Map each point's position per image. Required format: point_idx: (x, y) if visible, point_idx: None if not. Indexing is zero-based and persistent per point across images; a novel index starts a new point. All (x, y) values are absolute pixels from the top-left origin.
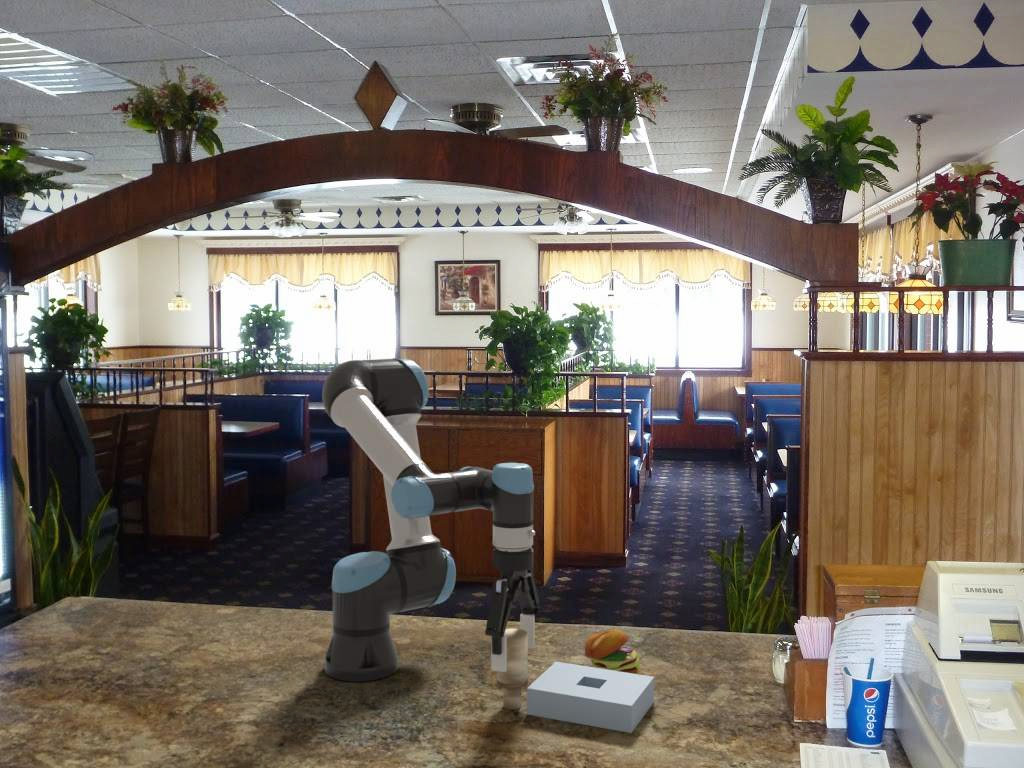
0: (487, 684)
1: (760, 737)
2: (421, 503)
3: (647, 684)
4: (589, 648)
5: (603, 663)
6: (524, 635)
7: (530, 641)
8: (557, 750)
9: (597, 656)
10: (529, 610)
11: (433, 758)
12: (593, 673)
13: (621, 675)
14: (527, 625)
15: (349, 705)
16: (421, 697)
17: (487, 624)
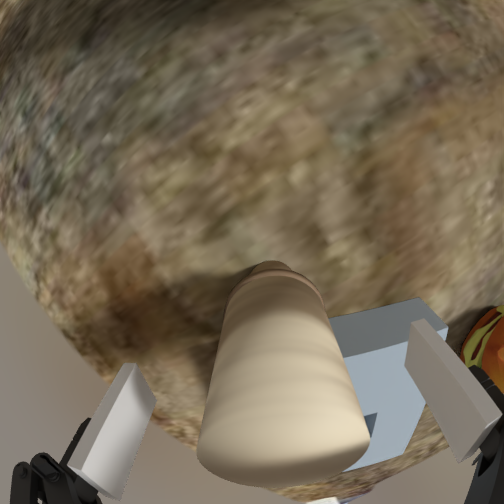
0: (362, 146)
1: (332, 488)
2: None
3: (370, 464)
4: (502, 343)
5: (476, 358)
6: (287, 484)
7: (417, 374)
8: (164, 412)
9: (484, 357)
10: (490, 455)
11: (25, 281)
12: (397, 412)
13: (398, 436)
14: (449, 412)
15: (80, 9)
16: (180, 57)
17: (13, 495)
